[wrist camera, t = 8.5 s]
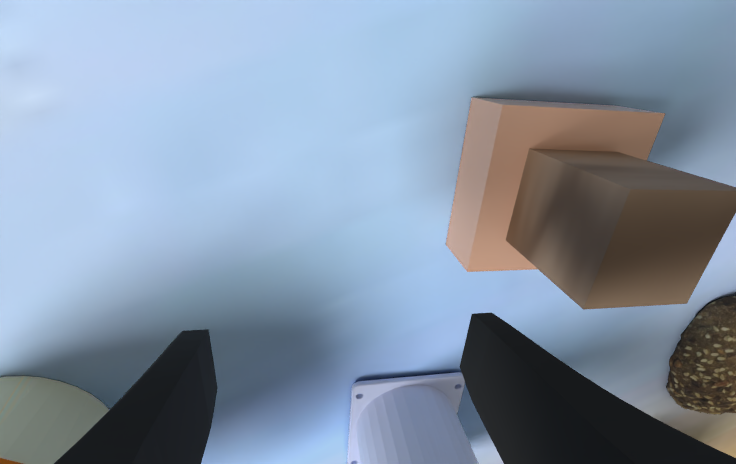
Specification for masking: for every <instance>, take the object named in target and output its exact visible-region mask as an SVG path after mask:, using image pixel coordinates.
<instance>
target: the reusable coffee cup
mask: <svg viewBox="0 0 736 464" xmlns="http://www.w3.org/2000/svg"><path fill="white" fill-rule="evenodd" d="M108 411H109V409H108V408H107V407H106V406H105V405H104V403H103V402H101V401H100V400H98V399H97V398H96V397H94V396H93V395H92V394H90V393H88V392H86V391H84V390H82V389H80V388H78V387H76V386H73V385H70V384H67V383H64V382H61V381H57V380H52V379H47V378H42V377H31V376H4V377H0V464H54V463H55V462H56V461H57V460H58V459H59V458H60V457H61V456H62V455H64V454H65V453H66V452H67V451H68V450H69V449H70V448H71V447H72V446H73V445H74V444H75V443H76V442H78V441H79V440H80V439H81V438H82V437H83V436H84V435H85V434H86V433H87V432H88V431H89V430H90V429H91V428H92V427H93V426H94V425H95V424H96V423H97V422H98V421H99V420H100V419H101V418H102V417H103V416H104V415H105V414H106V413H107V412H108Z"/></svg>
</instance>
